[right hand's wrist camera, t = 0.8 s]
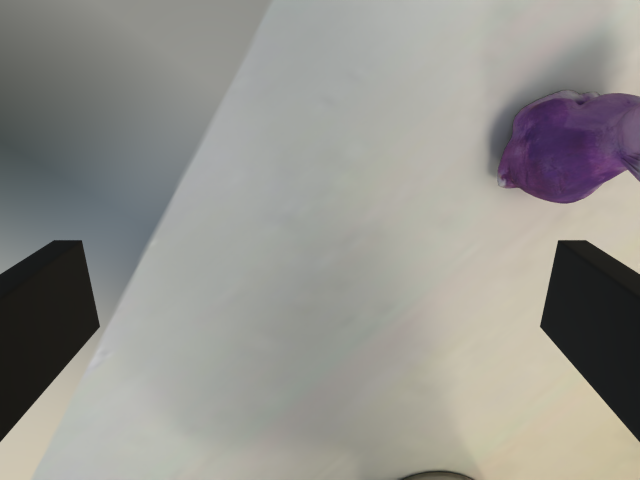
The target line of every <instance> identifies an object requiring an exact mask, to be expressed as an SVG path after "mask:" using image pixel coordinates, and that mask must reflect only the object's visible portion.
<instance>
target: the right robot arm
mask: <svg viewBox="0 0 640 480" xmlns="http://www.w3.org/2000/svg"><path fill="white" fill-rule="evenodd" d="M99 327H100V325H99V320H98V315H97V310H96V306H95V301H94V296H93V291H92V287H91V282H90V277H89V273H88V268H87V263H86V258H85V253H84V249H83V244H82V241H81V240H54V241H52V242H51V243H49V244H48V245H46V246H44V247H43V248H41V249H40V250H38V251H36V252H35V253H33V254H32V255H30V256H29V257H27V258H25V259H24V260H22V261H21V262H19V263H17V264H16V265H14V266H13V267H11V268H10V269H8V270H6V271H5V272H3V273H2V274H0V442H1V441H2V439H3V438H4V437H5V436H6V435H7V434H8V432H9V431H10V430H11V429H12V428H13V427H14V425H15V424H16V423H17V422H18V421H19V420H20V419H21V417H22V416H23V415H24V414H25V413H26V412H27V410H28V409H29V408H30V407H31V406H32V405H33V404H34V402H35V401H36V400H37V399H38V398H39V397H40V395H41V394H42V393H43V392H44V391H45V390H46V388H47V387H48V386H49V385H50V384H51V383H52V382H53V380H54V379H55V378H56V377H57V376H58V375H59V373H60V372H61V371H62V370H63V369H64V368H65V366H66V365H67V364H68V363H69V362H70V361H71V360H72V358H73V357H74V356H75V355H76V354H77V353H78V351H79V350H80V349H81V348H82V347H83V346H84V344H85V343H86V342H87V341H88V340H89V339H90V338H91V336H92V335H93V334H94V333H95V332H96V331H97V329H98V328H99ZM540 327H541V328H542V329H543V331H544V332H545V333H546V334H547V335H548V336H549V338H550V339H551V340H552V341H553V342H554V343H555V344H556V346H557V347H558V348H559V349H560V350H561V351H562V353H563V354H564V355H565V356H566V357H567V358H568V360H569V361H570V362H571V363H572V364H573V365H574V366H575V368H576V369H577V370H578V371H579V372H580V373H581V375H582V376H583V377H584V378H585V379H586V380H587V382H588V383H589V384H590V385H591V386H592V387H593V388H594V390H595V391H596V392H597V393H598V394H599V395H600V397H601V398H602V399H603V400H604V401H605V402H606V404H607V405H608V406H609V407H610V408H611V409H612V410H613V412H614V413H615V414H616V415H617V416H618V417H619V419H620V420H621V421H622V422H623V423H624V424H625V425H626V427H627V428H628V429H629V430H630V431H631V432H632V434H633V435H634V436H635V437H636V438H637V439H638V441H639V442H640V274H638V273H637V272H635V271H634V270H632V269H630V268H629V267H627V266H626V265H624V264H623V263H621V262H619V261H618V260H616V259H615V258H613V257H611V256H610V255H608V254H607V253H605V252H604V251H602V250H600V249H599V248H597V247H596V246H594V245H593V244H591V243H589V242H588V241H586V240H558V244H557V249H556V253H555V258H554V263H553V268H552V272H551V277H550V282H549V287H548V291H547V296H546V301H545V306H544V310H543V315H542V320H541V325H540ZM403 480H472V479H470V478H468V477H465V476H462V475H458V474H454V473H447V472H431V473H423V474H418V475H414V476H411V477H408V478H406V479H403Z"/></svg>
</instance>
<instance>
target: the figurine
mask: <svg viewBox="0 0 640 480" xmlns="http://www.w3.org/2000/svg"><path fill="white" fill-rule="evenodd" d="M626 170H629V171H630V172H631V173H632V174H633V175H634V176H635V177H636V178H637V179H638V180H639V181H640V97H639V96H635V95H630V94H622V93H612V94H604V95H601V96H600V95H599V94H597V92H589V93H584V94H578V93H577V92H574V91H571V90H564V91H560V92H557V93H554V94H552V95H548V96H547V97H544V98H542V99H539V100H537V101H535V102H533V103H531V104H529V105H527V106H526V107H524V108H522V109H521V110H520V112H519V113H518V114H517V115H516V116H515V119H514V122H513V133H512V137H511V139H510V141H509V143H508V144H507V146H506V148H505V150H504V153H503V156H502V159H501V161H500V164H499V167H498V173H497V181H498V185H499V186H500V187H503V188H521V189H522V190H523V191H525V192H527V193H529V194H531V195H533V196H535V197H537V198H540V199H543V200H547V201H550V202H556V203H566V204H567V203H572V202H576V201H578V200H581V199H583V198H585V197H587V196H589V195H590V194H592V193H593V192H594V191H595V190H596V189H598V188H599V187H600V186H601V185H602V184H603V183H604V182H606V181H608V180H610V179H612V178H613V177H615V176H617V175H619V174H620V173H622V172H624V171H626Z"/></svg>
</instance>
